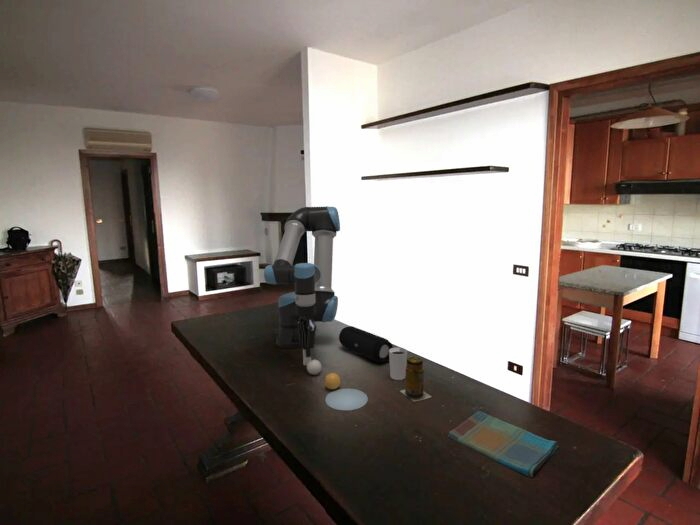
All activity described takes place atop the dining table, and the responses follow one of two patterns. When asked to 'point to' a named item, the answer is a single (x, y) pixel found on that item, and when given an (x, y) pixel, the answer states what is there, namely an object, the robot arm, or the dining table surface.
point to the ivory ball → (314, 367)
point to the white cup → (398, 363)
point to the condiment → (415, 380)
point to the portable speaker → (365, 343)
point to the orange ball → (332, 381)
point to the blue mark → (346, 399)
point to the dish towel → (504, 443)
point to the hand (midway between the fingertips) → (307, 364)
